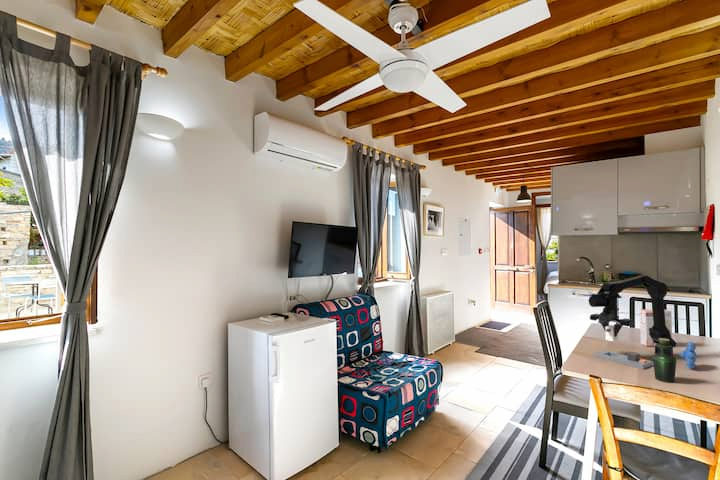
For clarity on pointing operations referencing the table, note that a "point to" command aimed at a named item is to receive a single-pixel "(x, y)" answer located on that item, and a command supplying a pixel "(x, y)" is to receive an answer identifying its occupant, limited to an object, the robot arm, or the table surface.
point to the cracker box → (647, 323)
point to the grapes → (689, 355)
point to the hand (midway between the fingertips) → (611, 336)
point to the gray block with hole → (625, 359)
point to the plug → (610, 333)
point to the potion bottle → (664, 362)
